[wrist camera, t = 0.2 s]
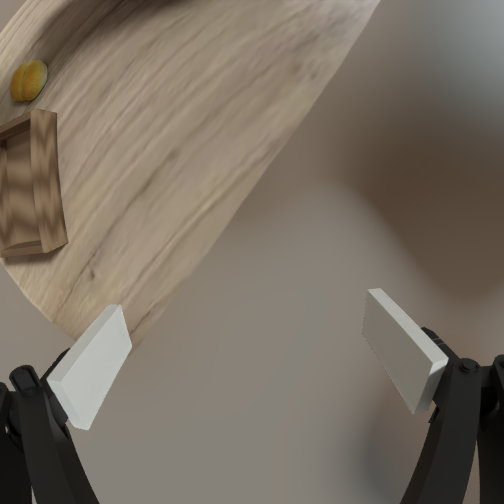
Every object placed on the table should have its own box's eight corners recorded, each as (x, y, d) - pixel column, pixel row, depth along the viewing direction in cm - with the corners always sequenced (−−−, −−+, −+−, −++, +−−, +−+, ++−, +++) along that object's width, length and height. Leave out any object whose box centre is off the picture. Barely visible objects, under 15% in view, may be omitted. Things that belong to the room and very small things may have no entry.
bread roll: (42, 100, 34) (29, 97, 30) (13, 102, 33) (0, 100, 29) (55, 58, 32) (43, 52, 28) (25, 63, 31) (13, 59, 27)
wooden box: (5, 135, 34) (-15, 135, 29) (56, 113, 35) (36, 108, 29) (17, 248, 41) (-3, 258, 35) (68, 242, 41) (48, 252, 35)
